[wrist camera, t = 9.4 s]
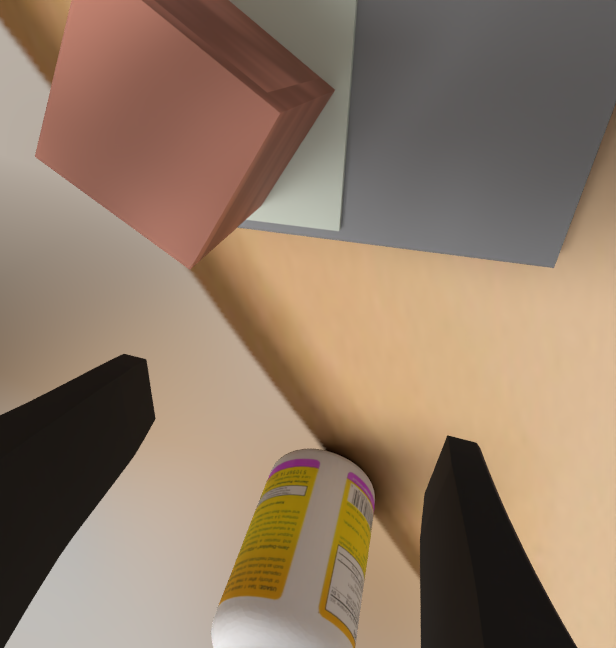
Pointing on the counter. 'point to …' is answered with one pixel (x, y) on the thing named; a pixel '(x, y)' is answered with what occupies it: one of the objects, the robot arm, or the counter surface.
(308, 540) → the supplement bottle
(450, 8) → the board
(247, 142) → the rimmed copper cube
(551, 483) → the counter surface
